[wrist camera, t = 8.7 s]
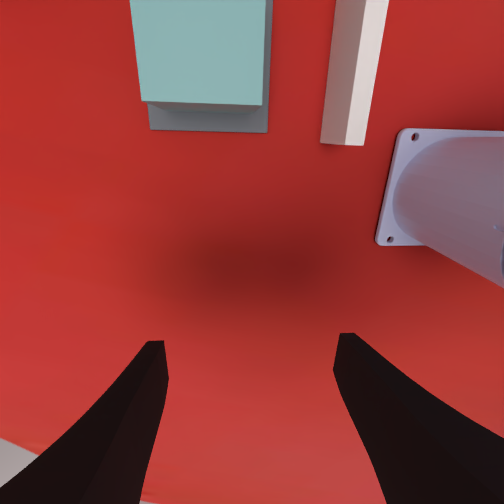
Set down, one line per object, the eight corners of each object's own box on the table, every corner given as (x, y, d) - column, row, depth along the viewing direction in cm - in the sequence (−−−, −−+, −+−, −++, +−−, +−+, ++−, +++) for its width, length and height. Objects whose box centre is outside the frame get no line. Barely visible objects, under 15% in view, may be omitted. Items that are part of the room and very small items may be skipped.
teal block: (254, 7, 14) (267, -54, 10) (251, 113, 16) (262, 105, 12) (156, 0, 14) (121, -67, 9) (166, 110, 16) (141, 100, 11)
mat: (272, -13, 14) (273, -16, 14) (266, 132, 17) (267, 132, 17) (134, -24, 14) (132, -27, 13) (151, 129, 16) (150, 129, 16)
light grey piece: (371, -130, 13) (429, -235, 9) (334, 143, 18) (363, 145, 14) (83, -165, 12) (17, -302, 8) (127, 137, 16) (98, 138, 13)
